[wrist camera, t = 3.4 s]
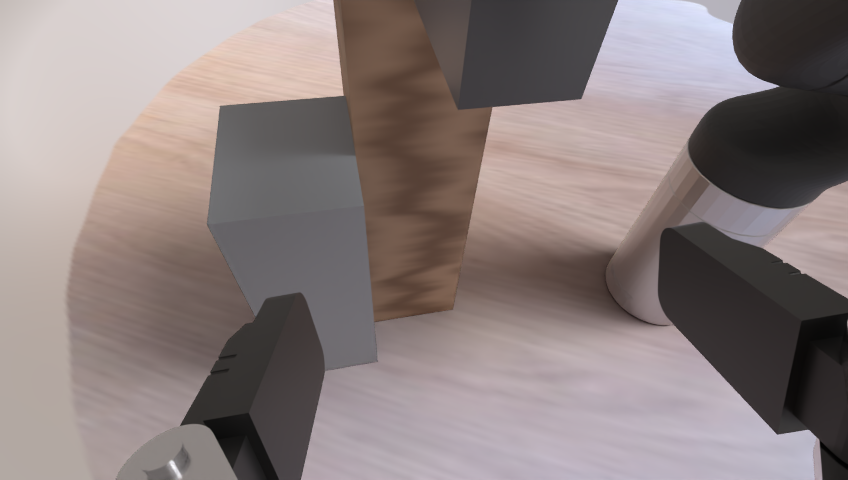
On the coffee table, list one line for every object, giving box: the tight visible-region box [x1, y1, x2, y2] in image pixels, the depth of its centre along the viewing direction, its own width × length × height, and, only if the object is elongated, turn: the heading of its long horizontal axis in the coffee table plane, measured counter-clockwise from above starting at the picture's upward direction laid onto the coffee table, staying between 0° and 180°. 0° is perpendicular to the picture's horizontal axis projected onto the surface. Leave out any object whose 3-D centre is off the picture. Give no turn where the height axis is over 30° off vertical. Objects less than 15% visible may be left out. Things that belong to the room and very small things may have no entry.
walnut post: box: [333, 0, 492, 322], centre depth 34 cm, size 8×10×32 cm
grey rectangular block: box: [207, 96, 378, 371], centre depth 35 cm, size 8×10×21 cm
